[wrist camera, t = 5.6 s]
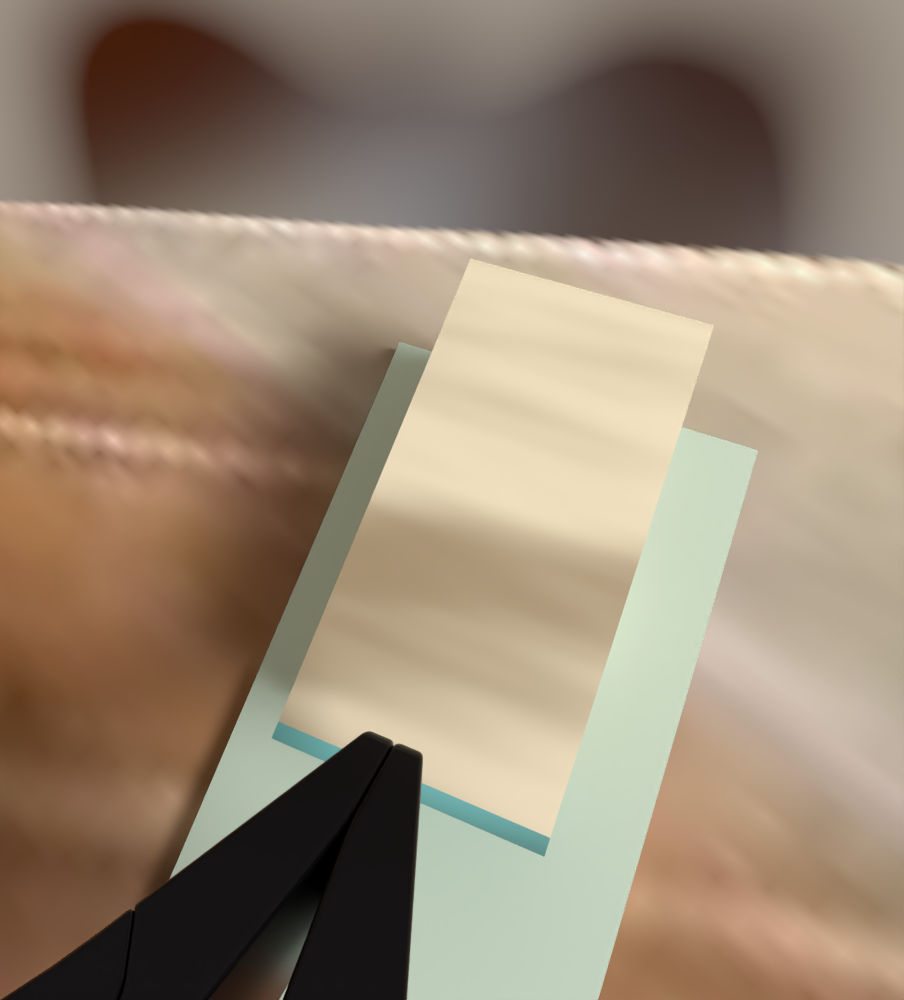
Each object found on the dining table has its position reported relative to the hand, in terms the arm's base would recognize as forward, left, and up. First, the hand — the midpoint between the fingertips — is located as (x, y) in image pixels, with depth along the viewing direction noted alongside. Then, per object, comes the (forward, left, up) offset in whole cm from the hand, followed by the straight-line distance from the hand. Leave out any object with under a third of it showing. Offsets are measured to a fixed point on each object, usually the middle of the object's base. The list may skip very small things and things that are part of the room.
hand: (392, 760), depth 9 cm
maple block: (-1, -1, -5) cm, 5 cm away
